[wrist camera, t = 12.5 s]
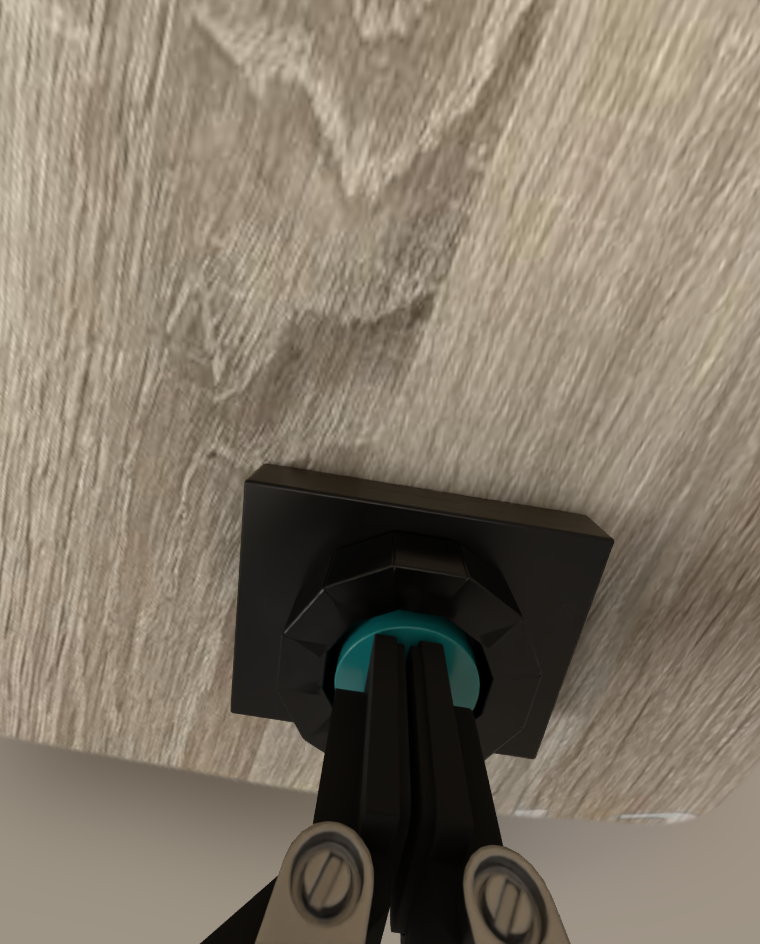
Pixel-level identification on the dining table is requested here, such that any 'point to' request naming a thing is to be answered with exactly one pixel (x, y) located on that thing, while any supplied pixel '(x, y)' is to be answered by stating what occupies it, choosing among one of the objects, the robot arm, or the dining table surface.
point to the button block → (407, 593)
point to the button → (408, 633)
